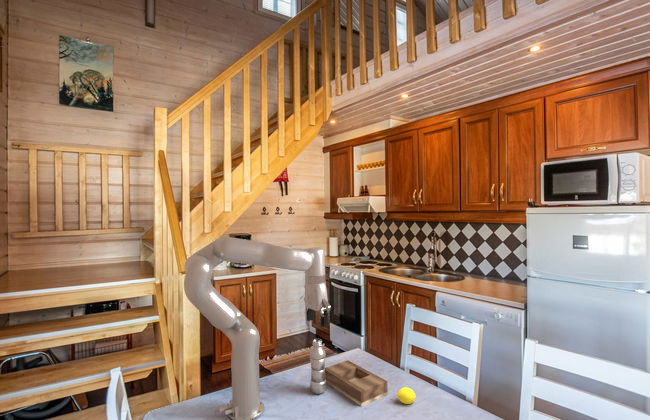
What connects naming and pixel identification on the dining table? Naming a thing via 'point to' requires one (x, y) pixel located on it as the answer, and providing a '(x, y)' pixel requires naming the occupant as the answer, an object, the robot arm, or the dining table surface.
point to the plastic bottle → (317, 367)
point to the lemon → (406, 395)
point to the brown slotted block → (356, 382)
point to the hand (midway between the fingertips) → (317, 323)
